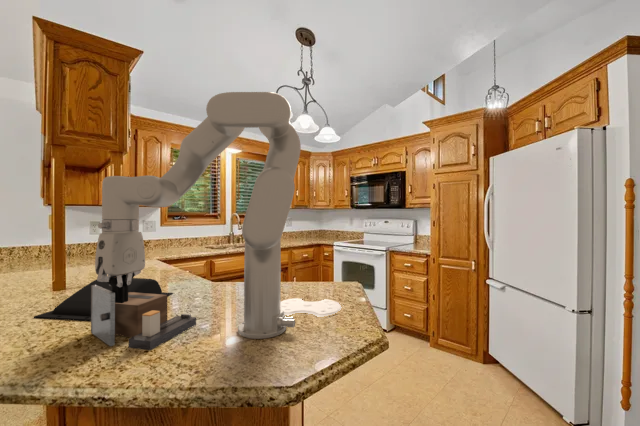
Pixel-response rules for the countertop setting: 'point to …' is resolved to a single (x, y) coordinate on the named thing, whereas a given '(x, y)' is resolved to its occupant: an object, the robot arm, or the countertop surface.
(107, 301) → the door
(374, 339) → the countertop surface
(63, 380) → the countertop surface
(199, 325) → the countertop surface
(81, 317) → the black piece
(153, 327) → the fader knob
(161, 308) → the wooden block
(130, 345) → the fader strip
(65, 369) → the countertop surface
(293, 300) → the white bone shape
